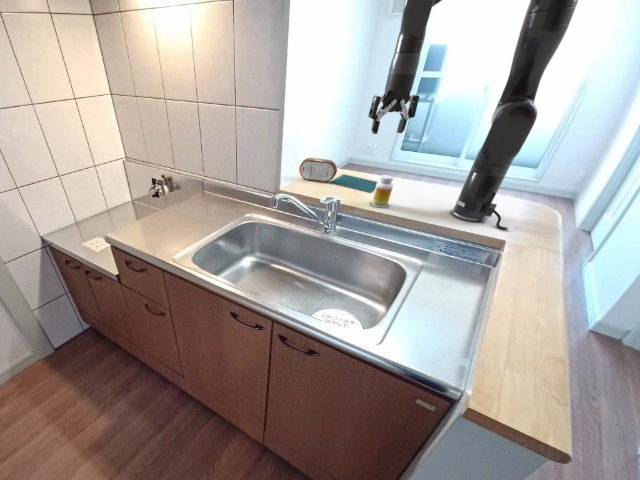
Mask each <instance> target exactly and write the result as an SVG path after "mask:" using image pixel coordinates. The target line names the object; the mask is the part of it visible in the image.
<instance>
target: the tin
mask: <svg viewBox="0 0 640 480" xmlns="http://www.w3.org/2000/svg"><path fill="white" fill-rule="evenodd" d="M298 171H299V175H300V176H301V177H302V178H303V180H307V181H314V182H321V183H328V182H331V181H333V180H334V179H335V177H336V176H337V172H338V167H337V165H336V163H335V162H334V161H333V160H331V159H325V158H318V157H316V158H315V157H307V158H305V159H303V160H302V161H301V163H300V165H299V169H298Z"/></svg>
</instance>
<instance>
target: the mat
mask: <svg viewBox="0 0 640 480" xmlns="http://www.w3.org/2000/svg"><path fill="white" fill-rule="evenodd" d="M378 182H379V181H375V180H370V179H366V178H362V177H358V176H357V177H356V176H352V175H347V174H343V175H340V176H339V177H337V178H334V179H332V180H330V181H329V184H334V185H337V186H342V187H344V188H345V187H346V188H351V189H355V190H358V191H361V192H366V193H371V192H373V191H375V188H376V184H377V183H378Z"/></svg>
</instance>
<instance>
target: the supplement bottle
mask: <svg viewBox="0 0 640 480" xmlns="http://www.w3.org/2000/svg"><path fill="white" fill-rule="evenodd" d="M393 180H394V177H393V176H392V175H389V174H382V175H380V178H379V181H377V182H378V183H377V184H376V188H375V189H374V190H373V191H374V192H373V196H372V199H371V205H372V206H374V207H375V208H386V207H388V204H389V201H390V198H391V194H392V192H393V189H394V184H393V183H392V182H393Z"/></svg>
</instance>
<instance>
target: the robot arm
mask: <svg viewBox="0 0 640 480" xmlns="http://www.w3.org/2000/svg"><path fill="white" fill-rule="evenodd" d="M442 1H443V0H404V4H403V10H402V16H401V23H400V27H399V33H398V35H397V39H396V44H395V48H394V52H393V57H392V59H391V61H390V65H389V69H388V74H387V79H386V82H385V87H384V94H383V95H382V96H380V95H373V97H372V101H371V104H370V108H369V112H368V118H370V119H371V120H372V124H371V125H372V126H371V133H372V134H373V135H377V134H378V133H379V130H380V129H379V128H380V124H381V119H383V117H384V116H386V115H387V113H398V114H399V116H400V119H399V123H398V126H397V130H396V132H397V133H398V134H403V132H404V131H405V130H406V126H407V122H408V120H410V119H411V118H412V119H413V118H415V117H416V113H417V109H418V105H419V100H420V95H418V94H412V95H411V92H412V90H413V86H414V82H415V79H416V75H417V72H418V68H419V65H420V59H421V53H422V51H423V50H422V49H423V46H424V43H425V39H426V35H427V26H428V22H429V19H430V15H431V12H432V9H433V8H434V7H435V6H436V5H437V4H439V3H441V2H442ZM578 2H579V0H530V1H529V3H528V6H527V9H526V12H525V15H524V18H523V21H522V24H521V27H520V31H519V35H518V37H517V42H516V46H515V49H514V52H513V56H512V62H511V66H510V70H509V73H508V77H507V80H506V83H505V86H504V87H503V90H502V93H501V94H500V95H501V96H500V98H499V99H498V102H497V104H496V107H495V109H494V111H493V113H492V116H491V121H490V122H491V123H490V124H491V126H490V128H489V131H488V133H487V135H486V137H485V139H484V141H483V143H482V145H481V147H480V149H479V150H478V151H477V154H476V156H475V159H474V161H473V163H472V165H471V168H470V170H469V172H468V175H467V177H466V178H465V182H464V184H463V186H462V188H461V191H460V193H459V195H458V198H457V200H456V202H455V205H454V207H453V208H452V211H451V214H452V215H453V216H454V217H456V218H458V219H461V220H465V221H469V222H479V223H482V222H483V221H484V220H485V218H486V217H488V218H491V217H492V215H493V214H494V215H495V216H496V217H497V221H496V223H495V226H496V227H497V228H498V229H499V230H504V231H507V230H508V229H509V227H504V226H501V225H500V223H501V221H502V217H501V215H500V213H498V211H497V210H495V209H496V208H497V206H498V204H497V203H493V202H494V200H495V198H496V196H497V193H498V192H499V190H500V187H501V185H502V183H503V182H504V179H505V177H506V175H507V173H508V172H509V169H510V167H511V165H512V163H513V162H514V160H515V158H516V157H517V156H518V155H519V153H520V151H521V150H522V148H523V146H524V144H525V143H526V141H527V139H528V137H529V135H530V133H531V131H532V129H533V127H534V125H535V124H536V121H537V118H538V109H537V106H536V105H535V100H536V96H537V93H538V90H539V86H540V83H541V81H542V78H543V75H544V73H545V71H546V69H547V67H548V65H549V64H550V62H551V60H552V59H553V57H554V55H556V52H557V50H558V49H559V47H560V45H561V43H562V41H563V39H564V37H565V35H566V33H567V31H568V28H569V25H570V24H571V22H572V21H571V20H572V18H573V16H574V14H575V11H576V7H577V6H578ZM381 103H382V104H381ZM408 103H409V105H408V108H407V104H408ZM380 104H381V106H380ZM379 106H380V107H379Z"/></svg>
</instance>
